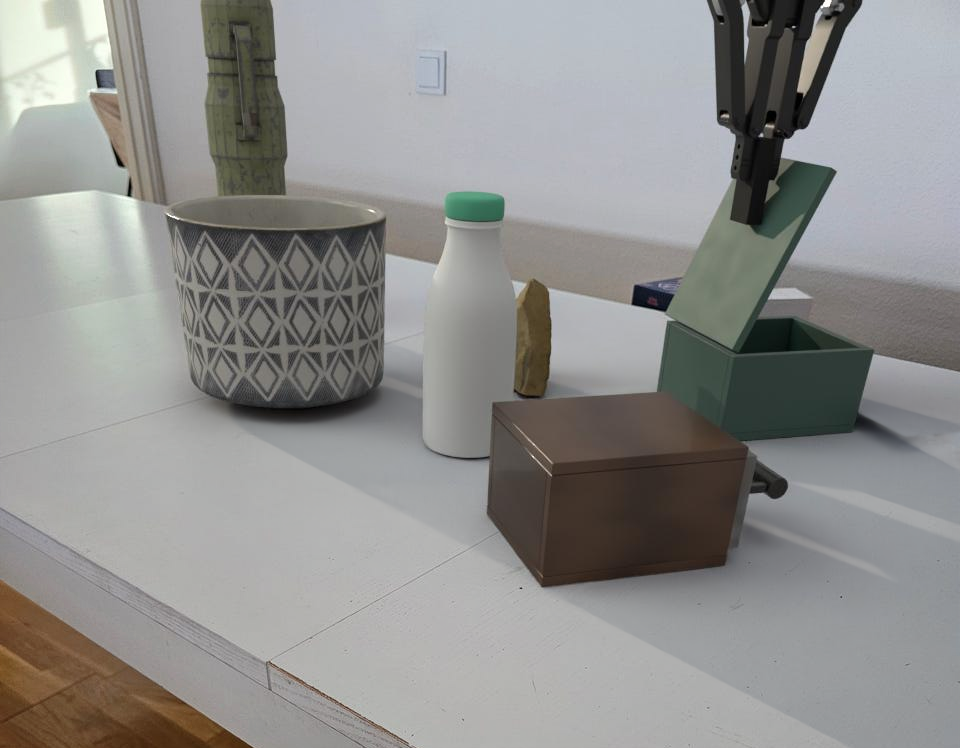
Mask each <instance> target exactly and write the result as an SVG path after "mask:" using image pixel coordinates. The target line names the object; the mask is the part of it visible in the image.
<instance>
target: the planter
mask: <svg viewBox="0 0 960 748" xmlns="http://www.w3.org/2000/svg"><path fill="white" fill-rule="evenodd" d="M164 214H165V215H164V216H165V222H166V227H167V233H168V234H167V235H168V240H169V241H168V242H169V248H170V254H171V261H172V267H173V274H174V280H175V281H174V282H175V285H176V286H175V287H176V292H177V300H178V307H179V312H180V319H181V325H182V332H183V338H184V339H183V340H184V346H185V352H186V359H187V365H188V372H189V376H190V380H191V381H192V383H193V385H194V386H195V387H196V388H197V389H198V390H200V391H201V392H203V393H204V394H206V395H207V396H210V397H212V398H215V399H217V400H221V401H224V402H228V403H232V404H238V405H245V406H252V407H258V408H265V409H272V410H302V409H303V410H304V409H313V408H317V407H322V406H326V405H327V406H328V405H333V404H337V403H338V404H339V403H343V402H347V401H350V400H353V399H357V398H359V397H362V396H364V395H366V394H368V393H370V392H372V391H373V390H375V389H376V388H377V387H379V385H380V384H381V382H382V380H383V377H384V374H385V319H386V318H385V315H386V314H385V313H386V309H385V308H386V248H387V247H386V245H387V242H386V241H387V239H386V238H387V214H386V212H385V211H384V210H383V209H381V208H379V207H376V206H374V205H371V204H367V203H362V202H358V201H354V200H353V201H352V200H346V199H339V198H330V197H322V196H321V197H319V196H306V195H305V196H304V195H287V194H286V195H234V196H218V195H217V196H207V197H200V198H193V199H191V198H190V199H186V200H182V201H177V202H175V203H172V204H170V205H168V206H166V208H165V209H164Z"/></svg>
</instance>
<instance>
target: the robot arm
mask: <svg viewBox="0 0 960 748" xmlns="http://www.w3.org/2000/svg"><path fill="white" fill-rule="evenodd" d="M706 3H707V5H708V9H709V12H710V15H711V17H712V21H713V38H714V39H713V41H714V42H713V43H714V71H715V73H714V75H715V102H716V122H717V124H718V126H720V127H724V128H726V129H727V130H729V131H730V133H731V134H732V135H734V136H735V137H734V138H735V139H734V140H735V141H734V148H733V152H732V160H731V165H730V170H729V173H730V179H732V180H733V179H737V180H736V186H735V192H734V198H733V204H732V209H731V215H730V220H732V221H735V222H738V223H742V224H745V225H761V222H762V217H763V212H764V206H765V201H766V196H767V190H768V185H769V180H775V178H776V176H777V174H778V170H779V165H780V159H781V158H782V155H783V149H784V143H785V140H789V139H791V138H792V137H793V136H794V134H795V132H796V131H799V130H800V131H801V130H806V129H807V128H809V125H810V123H811V120H812V118H813V115H814V113H815V110H816V108H817V105H818V102H819V100H820V97H821V95H822V92H823V89H824V87H825V84H826V82H827V79H828V76H829V74H830V71H831V69H832V66H833V63H834V60H835V58H836V56H837V52H838V50H839V48H840V44H841V42H842V39H843V37H844V35H845V32H846V29H847V27H848V26H849V25H850V23H851V22H852V20H853V19H854V17H855V15H856V14H857V13H858V11H859V10H860V9H861V7H862V5H863V0H706ZM745 3H746V5H747V8H748V11H749V15H748V23H747V29H746V36H747V39H748V41H747V48H746V54H745V21H744V20H745V19H744V18H745V17H744V12H743V5H745ZM819 10H820V12H821V15H820V16H819V18H818V20H817V22H816V24H815V19H816V16H817V15H816V14H817V13H818V12H819ZM808 41H809V42H808ZM807 43H808V45H807ZM761 134H762V136H761Z"/></svg>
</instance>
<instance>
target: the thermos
mask: <svg viewBox="0 0 960 748" xmlns="http://www.w3.org/2000/svg"><path fill="white" fill-rule="evenodd" d="M199 4H200V14H201V15H200V16H201V22H202V23H201V24H202V35H203V45H204V55H205V56H204V57H205V58H207V67H208V72H207V73H206V75H207V88H206V89H207V90H206V92H205V99H204V111H205V121H206V122H205V123H206V131H207V133H206V134H207V142H208V150H209V151H208V152H209V156H210V158H211V160H212V162H213V164H214V169H215V179H216V188H217V196H234V195H287V188H286V187H287V186H286V174H285V173H286V172H285V171H286V170H285V165H286V162H287V159H288V155H289V154H288V153H289V152H288V137H287V123H286V107H285V104H284V101H283V97H282V95H281V91H280V88H279V84H278V83H279V82H278V81H279V80H278V75H276V66H275V65H276V64H275V63H276V62H275V61H277V51H276V37H275V21H274V7H273V4H272V1H271V0H200V3H199Z"/></svg>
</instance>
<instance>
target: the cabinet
mask: <svg viewBox="0 0 960 748" xmlns="http://www.w3.org/2000/svg"><path fill="white" fill-rule="evenodd" d="M492 413H493V414H492V420H491V440H490V456H489V459H488V461H489V463H488V479H487V480H488V481H487V501H486V515H487V516H488V518H489V519H490V520H491V522H492V523H493V525H495V528H496V529H497V530H498V531H499V532H500V534H501V535H502V536H503V539H505V540H506V542H507V544H509V546H510V547H511V548H512V550H513V551H514V552H515V554H516V556H517V557H518V558H519V559H520V561H521V562H522V564H523V565H524V566H525V567H526V568H527V570H528V571H529V573H530V575H532V577H533V578H534V579H535V580H536V582H537V583H538V585H539V586H540V587H541V588H550V587H559V586H567V585H576V584H583V583H591V582H592V583H593V582H599V581H600V582H601V581H609V580H615V579H624V578H632V577H640V576H649V575H657V574H665V573H672V572H673V573H674V572H681V571H689V570H697V569H704V568H713V567H720V566H722V567H723V566H725V565H726V561H727V555H728V551H729V549H728V547H729V542H730V537H731V532H732V528H733V523H734V518H735V513H736V508H737V504H738V499H739V494H740V489H741V484H742V480H743V475H744V470H745V465H746V460H747V459H746V458H747V455H748V450H750V447H749V446H748V445H746V444H745V443H743V441H739V440H737V439H736V438H734V437H733V436H731V435H730V434H728V433H727V432H725V431H724V430H722V429H721V428H719V427H718V426H716V425H715V424H713V423H712V422H710V421H709V420H707V419H706V418H704V417H703V416H702V415H700V414H699V413H697V412H696V411H694V410H693V409H691V408H690V407H688V406H687V405H685V404H684V403H682V402H681V401H679V400H678V399H676V398H675V397H673V396H672V395H670V394H669V393H667V392H665V391H664V392H657V391H652V392H651V391H650V392H633V393H618V394H601V395H586V396H585V395H584V396H570V397H555V398H540V399H539V398H537V399H522V400H520V399H519V400H513V401H504V402H493V403H492Z"/></svg>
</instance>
